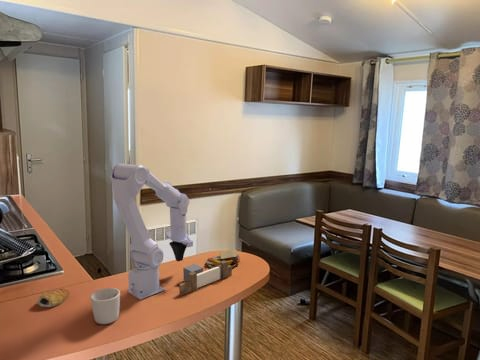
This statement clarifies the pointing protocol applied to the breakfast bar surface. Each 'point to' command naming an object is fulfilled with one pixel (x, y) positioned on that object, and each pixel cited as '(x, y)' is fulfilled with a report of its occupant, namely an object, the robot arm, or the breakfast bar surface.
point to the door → (208, 276)
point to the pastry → (53, 297)
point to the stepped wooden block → (192, 278)
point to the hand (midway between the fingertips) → (179, 260)
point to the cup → (105, 305)
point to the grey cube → (191, 270)
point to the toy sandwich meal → (227, 256)
